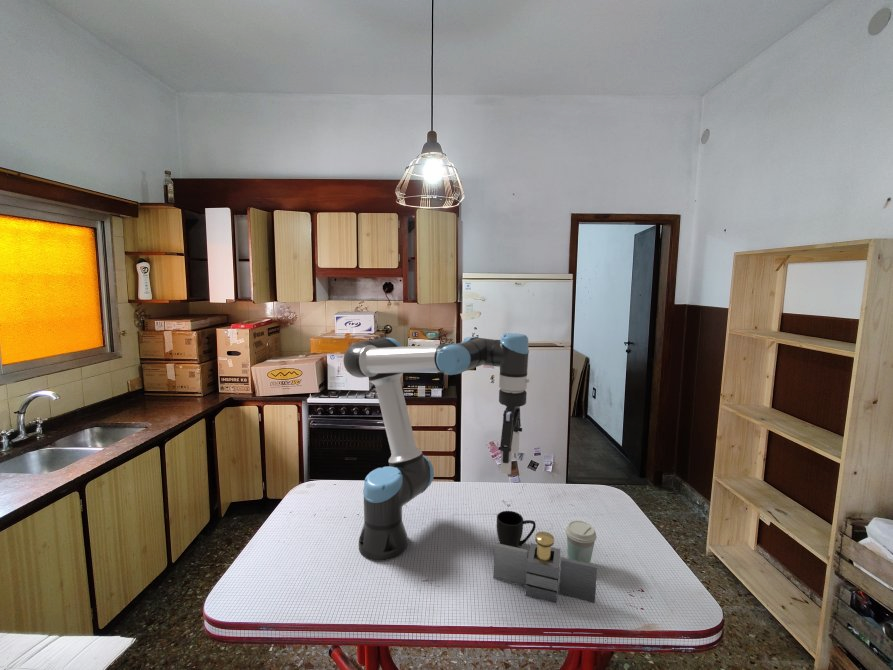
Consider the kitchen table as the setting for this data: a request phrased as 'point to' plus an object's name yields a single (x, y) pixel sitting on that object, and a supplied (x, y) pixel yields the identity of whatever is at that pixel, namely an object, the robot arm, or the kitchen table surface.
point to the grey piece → (518, 568)
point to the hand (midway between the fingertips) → (510, 462)
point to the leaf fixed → (562, 577)
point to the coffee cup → (580, 540)
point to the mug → (512, 528)
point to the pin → (544, 545)
